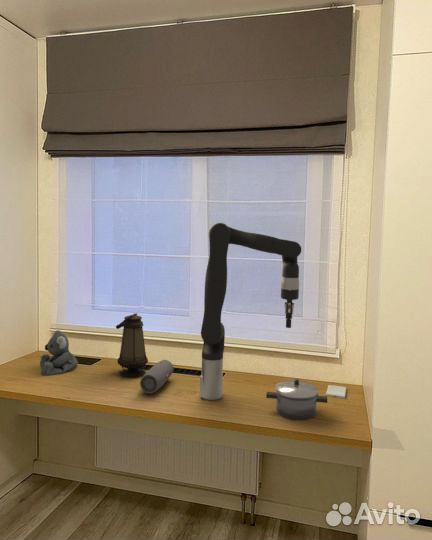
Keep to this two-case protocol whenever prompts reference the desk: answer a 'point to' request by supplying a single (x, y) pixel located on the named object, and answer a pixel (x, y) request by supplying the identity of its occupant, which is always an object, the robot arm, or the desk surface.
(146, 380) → the bluetooth speaker
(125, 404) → the desk surface
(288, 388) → the lid
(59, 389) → the desk surface
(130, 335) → the lantern
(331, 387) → the hard drive
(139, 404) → the desk surface
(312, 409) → the pot
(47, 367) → the koala plush
